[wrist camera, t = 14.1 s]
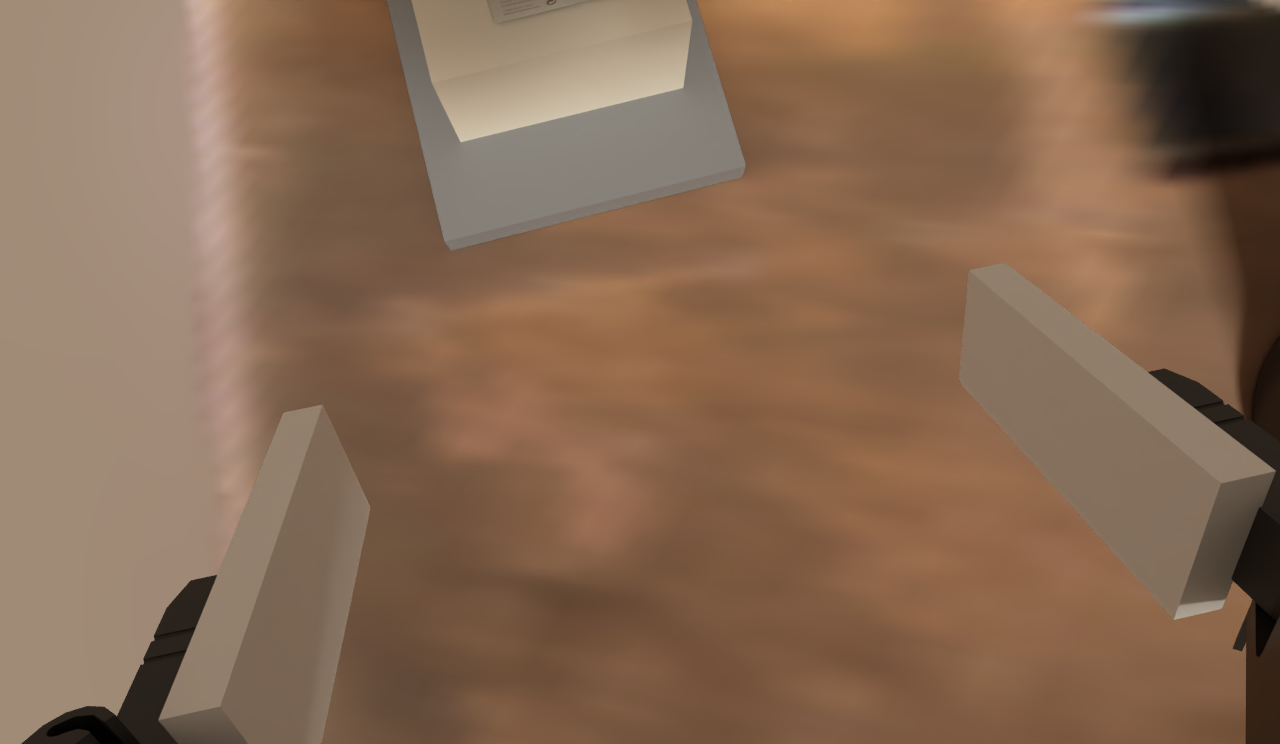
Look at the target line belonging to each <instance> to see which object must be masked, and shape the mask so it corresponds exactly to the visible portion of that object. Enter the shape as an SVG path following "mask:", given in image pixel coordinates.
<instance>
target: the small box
mask: <svg viewBox="0 0 1280 744" xmlns="http://www.w3.org/2000/svg"><path fill="white" fill-rule="evenodd" d="M486 1H487V4H488V7H489V10H490V14H491V17H492V19H493V22H494V23H500V22H504V21H508V20H512V19H516V18H521V17H525V16H529V15H533V14H537V13H541V12H545V11H549V10H553V9H557V8H561V7H565V6H570V5H574V4H578V3H582V2H586V1H590V0H486Z"/></svg>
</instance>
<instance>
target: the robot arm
mask: <svg viewBox="0 0 1280 744" xmlns="http://www.w3.org/2000/svg"><path fill="white" fill-rule="evenodd" d="M959 382H960V384H961V385H962V386H963V387H964V388H965V389H966V390H967V391H968V392H969V393H970V395H971V396H972V397H973V398H974V399H975V400H976V401H977V402H978V403H979V405H980V406H981V407H982V408H983V409H984V410H985V411H986V412H987V413H988V415H989V416H990V417H991V418H992V419H993V420H994V421H995V422H996V423H997V425H998V426H999V427H1000V428H1001V429H1002V430H1003V431H1004V432H1005V433H1006V434H1007V436H1008V437H1009V438H1010V439H1011V440H1012V441H1013V442H1014V443H1015V444H1016V446H1017V447H1018V448H1019V449H1020V450H1021V451H1022V452H1023V453H1024V454H1025V456H1026V457H1027V458H1028V459H1029V460H1030V461H1031V462H1032V463H1033V464H1034V466H1035V467H1036V468H1037V469H1038V470H1039V471H1040V472H1041V473H1042V474H1043V475H1044V477H1045V478H1046V479H1047V480H1048V481H1049V482H1050V483H1051V484H1052V485H1053V487H1054V488H1055V489H1056V490H1057V491H1058V492H1059V493H1060V494H1061V495H1062V497H1063V498H1064V499H1065V500H1066V501H1067V502H1068V503H1069V504H1070V505H1071V507H1072V508H1073V509H1074V510H1075V511H1076V512H1077V513H1078V514H1079V515H1080V516H1081V518H1082V519H1083V520H1084V521H1085V522H1086V523H1087V524H1088V525H1089V526H1090V528H1091V529H1092V530H1093V531H1094V532H1095V533H1096V534H1097V535H1098V536H1099V538H1100V539H1101V540H1102V541H1103V542H1104V543H1105V544H1106V545H1107V546H1108V548H1109V549H1110V550H1111V551H1112V552H1113V553H1114V554H1115V555H1116V556H1117V557H1118V559H1119V560H1120V561H1121V562H1122V563H1123V564H1124V565H1125V566H1126V567H1127V569H1128V570H1129V571H1130V572H1131V573H1132V574H1133V575H1134V576H1135V577H1136V579H1137V580H1138V581H1139V582H1140V583H1141V584H1142V585H1143V586H1144V587H1145V589H1146V590H1147V591H1148V592H1149V593H1150V594H1151V595H1152V596H1153V597H1154V598H1155V600H1156V601H1157V602H1158V603H1159V604H1160V605H1161V606H1162V607H1163V608H1164V610H1165V611H1166V612H1167V613H1168V614H1169V615H1170V616H1171V617H1172V618H1173V620H1175V619H1180V618H1184V617H1188V616H1193V615H1197V614H1201V613H1206V612H1210V611H1214V610H1219V609H1222V607H1223V605H1224V602H1225V600H1226V597H1227V595H1228V592H1229V589H1230V587H1231V584H1232V582H1233V581H1234V582H1235V583H1236V584H1237V585H1238V586H1239V587H1240V588H1241V589H1242V590H1243V591H1245V592H1246V593H1247V594H1248V595H1249V596H1250V597H1251V598H1252V599H1253V600H1252V603H1251V605H1250V607H1249V610H1248V612H1247V615H1246V617H1245V619H1244V622H1243V624H1242V626H1241V629H1240V631H1239V634H1238V636H1237V638H1236V641H1235V644H1234V646H1233V649H1236V650H1239V651H1242V650H1243V647H1244V645H1245V643H1246V744H1280V338H1279V339H1278V340H1277V342H1276V343H1275V345H1274V346H1273V348H1272V349H1271V351H1270V353H1269V355H1268V356H1267V359H1266V361H1265V363H1264V365H1263V368H1262V371H1261V373H1260V376H1259V380H1258V384H1257V388H1256V394H1255V401H1254V423H1253V422H1252V421H1250V420H1245V419H1244V415H1242V414H1241V413H1240V412H1238V411H1237V410H1235V409H1234V408H1233V407H1231V406H1230V405H1229V404H1227V405H1224V403H1223V400H1222V399H1220V398H1219V397H1218V396H1216V395H1215V394H1213V393H1212V392H1211V391H1209V390H1208V389H1207V388H1205V387H1204V386H1202V385H1201V384H1200V383H1198V382H1196V381H1194V380H1191V379H1189V378H1186V377H1184V376H1181V375H1179V374H1176V373H1174V372H1172V371H1169V370H1167V369H1160V370H1156V371H1151V372H1147V371H1145V370H1144V369H1143V368H1141V367H1140V366H1139V365H1138V364H1136V363H1135V362H1134V361H1132V360H1131V359H1130V358H1128V357H1127V356H1126V355H1125V354H1123V353H1122V352H1121V351H1119V350H1118V349H1117V348H1115V347H1114V346H1113V345H1112V344H1110V343H1109V342H1108V341H1106V340H1105V339H1104V338H1102V337H1101V336H1100V335H1099V334H1097V333H1096V332H1095V331H1093V330H1092V329H1091V328H1089V327H1088V326H1087V325H1086V324H1084V323H1083V322H1082V321H1080V320H1079V319H1078V318H1076V317H1075V316H1074V315H1073V314H1071V313H1070V312H1069V311H1067V310H1066V309H1065V308H1063V307H1062V306H1061V305H1060V304H1058V303H1057V302H1056V301H1054V300H1053V299H1052V298H1050V297H1049V296H1048V295H1047V294H1045V293H1044V292H1043V291H1041V290H1040V289H1039V288H1037V287H1036V286H1035V285H1034V284H1032V283H1031V282H1030V281H1028V280H1027V279H1026V278H1024V277H1023V276H1022V275H1021V274H1019V273H1018V272H1017V271H1015V270H1014V269H1013V268H1011V267H1010V266H1009V265H1008V264H1006V263H1002V264H997V265H992V266H987V267H982V268H978V269H973V270H969V275H968V286H967V298H966V309H965V320H964V331H963V342H962V353H961V364H960V375H959ZM369 512H370V506H369V503H368V501H367V499H366V497H365V495H364V493H363V490H362V488H361V486H360V484H359V482H358V480H357V477H356V475H355V473H354V471H353V469H352V467H351V465H350V462H349V460H348V458H347V456H346V454H345V452H344V449H343V447H342V445H341V443H340V441H339V439H338V437H337V434H336V432H335V430H334V428H333V426H332V424H331V421H330V419H329V417H328V415H327V413H326V411H325V409H324V406H323V405H319V406H314V407H309V408H304V409H299V410H295V411H290V412H285V413H283V415H282V418H281V420H280V423H279V425H278V428H277V430H276V433H275V435H274V437H273V440H272V442H271V445H270V447H269V450H268V452H267V455H266V457H265V460H264V462H263V464H262V467H261V469H260V472H259V474H258V477H257V479H256V482H255V484H254V487H253V489H252V491H251V494H250V496H249V499H248V501H247V504H246V506H245V509H244V511H243V514H242V516H241V518H240V521H239V523H238V526H237V528H236V531H235V533H234V536H233V538H232V541H231V543H230V545H229V548H228V550H227V553H226V555H225V558H224V560H223V563H222V565H221V568H220V570H219V572H218V575H215V576H210V577H205V578H201V579H196V580H191V581H190V582H189V583H188V584H187V586H186V587H185V588H184V589H183V590H182V591H181V592H180V593H179V595H178V596H177V597H176V598H175V599H174V600H173V601H172V603H171V604H170V605H169V606H168V607H167V609H166V611H165V613H164V615H163V618H162V619H161V622H160V624H159V626H158V628H157V630H156V633H155V635H154V638H155V640H154V641H152V642H151V643H150V646H149V648H148V650H147V652H146V654H145V656H144V664H143V665H140V668H139V670H138V672H137V674H136V676H135V678H134V681H133V683H132V685H131V687H130V689H129V691H128V694H127V696H126V698H125V700H124V702H123V704H122V707H121V709H120V711H119V713H118V715H117V716H116V715H115V714H113V713H112V712H111V711H109V710H108V709H106V708H105V707H96V706H86V707H83V708H79V709H76V710H73V711H70V712H67V713H65V714H63V715H61V716H59V717H57V718H56V719H54V720H52V721H50V722H48V723H47V724H45V725H43V726H42V727H41V728H39V729H38V730H37V731H36V732H35V733H34V734H32V735H31V736H30V737H29V738H28V739H26V740H25V741H24V742H23V743H22V744H321V742H322V737H323V733H324V728H325V723H326V718H327V713H328V709H329V704H330V699H331V694H332V689H333V685H334V680H335V675H336V670H337V666H338V661H339V656H340V651H341V646H342V642H343V637H344V632H345V627H346V622H347V618H348V613H349V608H350V603H351V598H352V594H353V589H354V584H355V579H356V575H357V570H358V565H359V560H360V555H361V551H362V546H363V541H364V536H365V531H366V527H367V522H368V517H369Z"/></svg>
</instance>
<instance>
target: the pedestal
mask: <svg viewBox="0 0 1280 744" xmlns="http://www.w3.org/2000/svg"><path fill="white" fill-rule="evenodd" d="M386 1H387V5H388V9H389V13H390V17H391V22H392V26H393V30H394V34H395V38H396V42H397V46H398V51H399V55H400V59H401V63H402V67H403V71H404V76H405V80H406V84H407V88H408V92H409V96H410V101H411V105H412V109H413V113H414V117H415V121H416V125H417V130H418V134H419V138H420V142H421V146H422V150H423V155H424V159H425V163H426V167H427V171H428V175H429V180H430V184H431V188H432V192H433V196H434V200H435V204H436V209H437V213H438V217H439V221H440V225H441V229H442V234H443V238H444V242H445V243H446V244H447V246H448V247H449V248H450V250H455V249H459V248H463V247H467V246H471V245H475V244H479V243H483V242H487V241H491V240H495V239H499V238H503V237H507V236H511V235H515V234H519V233H523V232H527V231H531V230H535V229H539V228H543V227H547V226H551V225H555V224H559V223H563V222H567V221H570V220H574V219H578V218H582V217H586V216H590V215H594V214H598V213H602V212H606V211H610V210H614V209H618V208H622V207H626V206H630V205H634V204H638V203H642V202H646V201H650V200H654V199H658V198H662V197H666V196H670V195H674V194H678V193H682V192H686V191H690V190H694V189H698V188H702V187H706V186H710V185H714V184H718V183H722V182H726V181H730V180H733V179H737V178H741V177H742V176H743V173H744V170H745V167H746V165H745V161H744V158H743V155H742V151H741V148H740V145H739V141H738V138H737V135H736V131H735V128H734V125H733V121H732V118H731V115H730V112H729V108H728V105H727V102H726V98H725V95H724V92H723V88H722V85H721V82H720V78H719V75H718V72H717V68H716V65H715V62H714V59H713V55H712V52H711V49H710V45H709V42H708V39H707V35H706V32H705V29H704V25H703V22H702V19H701V15H700V12H699V9H698V5H697V2H696V0H590V1H586V2H582V3H578V4H574V5H570V6H565V7H561V8H557V9H553V10H549V11H545V12H541V13H537V14H533V15H529V16H525V17H521V18H516V19H512V20H508V21H504V22H500V23H494V22H493V19H492V17H491V14H490V10H489V7H488V4H487V1H486V0H386Z"/></svg>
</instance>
